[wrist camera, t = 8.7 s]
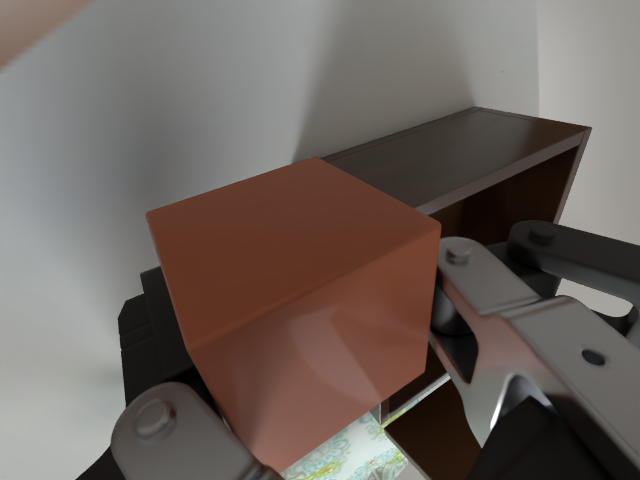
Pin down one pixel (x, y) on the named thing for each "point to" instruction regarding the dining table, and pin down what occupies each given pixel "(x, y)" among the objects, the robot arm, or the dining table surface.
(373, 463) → the towel
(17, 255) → the dining table surface
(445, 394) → the lid
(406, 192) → the chest
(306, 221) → the block
